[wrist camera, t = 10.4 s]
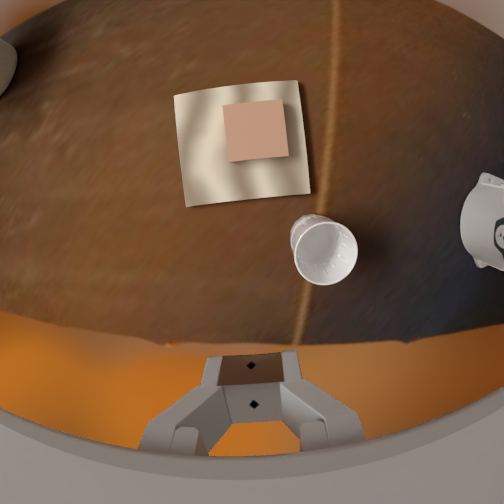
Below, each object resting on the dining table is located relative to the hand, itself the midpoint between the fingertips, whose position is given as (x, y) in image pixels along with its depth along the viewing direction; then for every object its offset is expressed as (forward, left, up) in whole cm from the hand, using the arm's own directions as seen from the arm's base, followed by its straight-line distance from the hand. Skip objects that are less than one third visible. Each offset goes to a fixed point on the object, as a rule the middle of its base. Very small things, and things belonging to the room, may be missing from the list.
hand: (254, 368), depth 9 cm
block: (+3, -12, -32) cm, 34 cm away
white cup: (-8, +4, -34) cm, 35 cm away
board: (+1, -11, -34) cm, 36 cm away
